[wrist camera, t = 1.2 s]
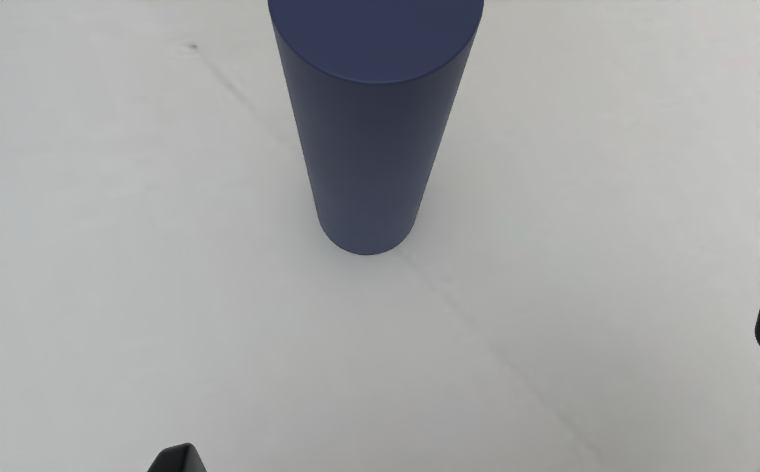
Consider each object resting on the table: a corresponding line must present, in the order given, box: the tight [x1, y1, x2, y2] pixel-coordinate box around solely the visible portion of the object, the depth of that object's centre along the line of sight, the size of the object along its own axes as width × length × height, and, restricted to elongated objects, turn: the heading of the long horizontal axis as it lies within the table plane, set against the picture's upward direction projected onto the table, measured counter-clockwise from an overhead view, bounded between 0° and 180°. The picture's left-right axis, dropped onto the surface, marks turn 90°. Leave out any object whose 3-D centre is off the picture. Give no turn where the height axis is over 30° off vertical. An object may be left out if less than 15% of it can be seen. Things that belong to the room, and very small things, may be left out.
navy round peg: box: [268, 0, 484, 255], centre depth 17 cm, size 4×4×13 cm
